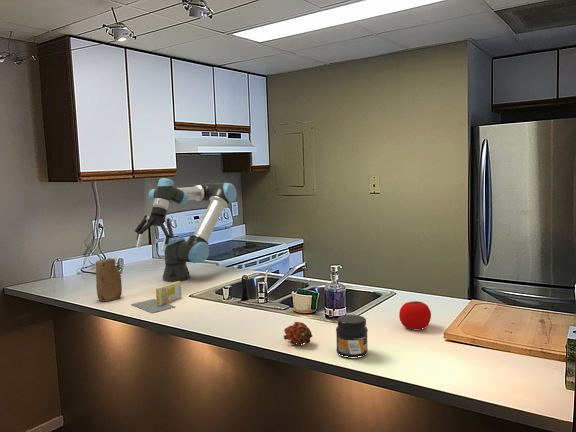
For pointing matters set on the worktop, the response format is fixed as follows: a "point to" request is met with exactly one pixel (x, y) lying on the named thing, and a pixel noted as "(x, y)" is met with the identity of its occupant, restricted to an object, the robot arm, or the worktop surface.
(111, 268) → the block
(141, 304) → the mat
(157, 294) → the candy box
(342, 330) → the supplement container
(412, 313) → the tomato
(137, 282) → the worktop surface
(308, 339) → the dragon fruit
